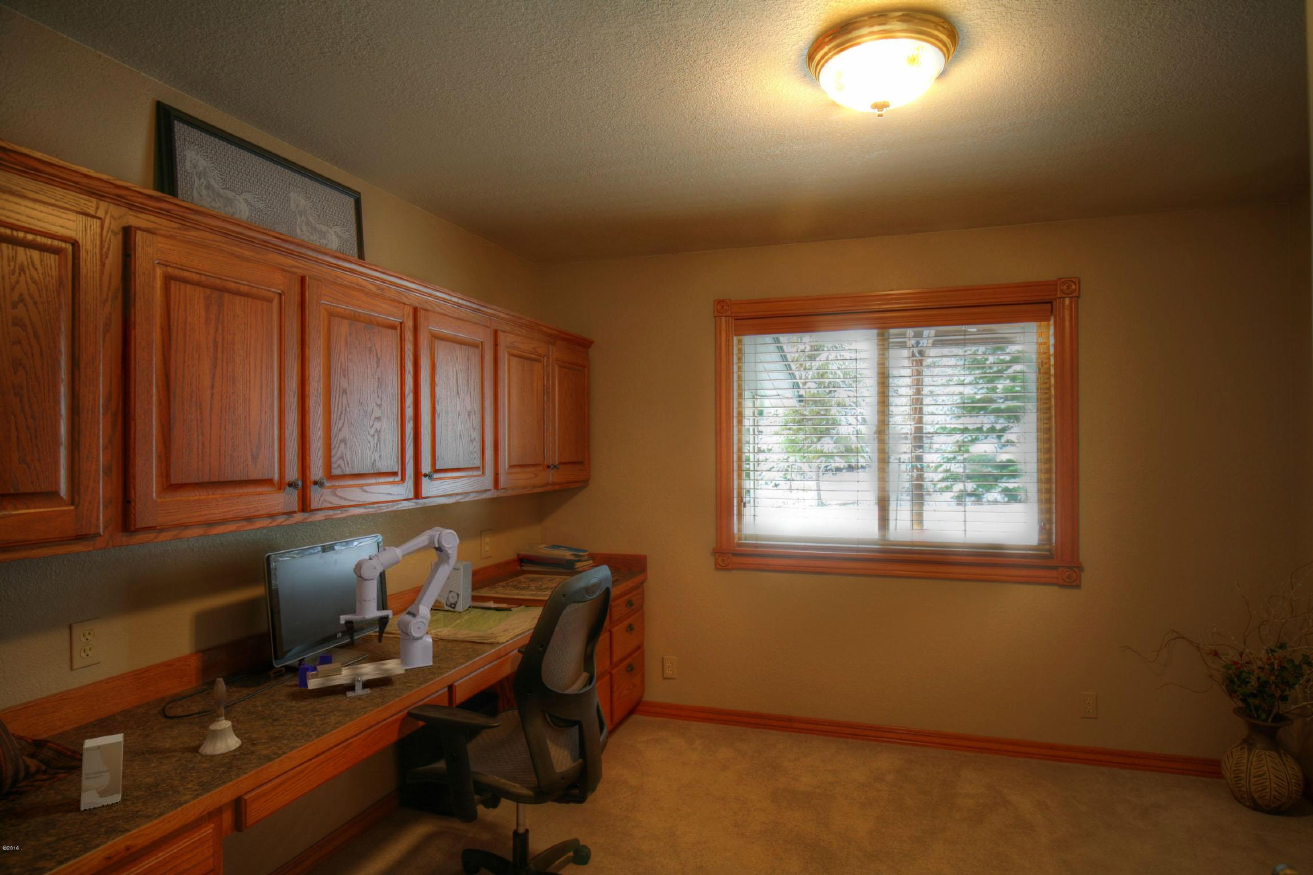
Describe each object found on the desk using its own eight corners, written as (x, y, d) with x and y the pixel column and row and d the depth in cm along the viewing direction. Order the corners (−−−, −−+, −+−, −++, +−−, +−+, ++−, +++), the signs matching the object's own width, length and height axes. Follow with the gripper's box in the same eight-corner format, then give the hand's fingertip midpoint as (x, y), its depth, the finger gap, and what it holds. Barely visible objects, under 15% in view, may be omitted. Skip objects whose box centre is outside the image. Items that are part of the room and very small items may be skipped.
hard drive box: (429, 610, 289) (430, 562, 289) (440, 605, 296) (441, 559, 296) (461, 613, 284) (461, 564, 284) (472, 608, 291) (472, 561, 291)
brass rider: (340, 672, 198) (340, 662, 198) (341, 677, 194) (341, 666, 194) (316, 676, 195) (316, 666, 195) (318, 681, 191) (318, 670, 191)
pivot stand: (365, 681, 204) (365, 664, 204) (370, 692, 195) (370, 675, 195) (342, 684, 201) (342, 667, 201) (347, 696, 192) (347, 678, 192)
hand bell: (199, 759, 154) (200, 687, 154) (197, 745, 161) (198, 677, 161) (242, 749, 159) (243, 679, 159) (239, 736, 166) (239, 670, 166)
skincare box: (79, 812, 132) (80, 747, 132) (81, 802, 136) (82, 739, 136) (122, 801, 136) (123, 739, 136) (123, 792, 140) (123, 731, 140)
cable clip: (317, 673, 211) (317, 654, 211) (331, 674, 211) (332, 654, 211) (293, 687, 199) (293, 666, 199) (308, 688, 199) (308, 667, 199)
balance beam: (400, 665, 207) (400, 656, 207) (404, 672, 201) (404, 663, 201) (306, 681, 195) (306, 671, 195) (308, 689, 188) (308, 678, 188)
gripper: (341, 604, 202) (341, 650, 202) (394, 598, 210) (393, 643, 210) (339, 599, 208) (338, 644, 208) (390, 594, 216) (389, 637, 216)
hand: (366, 643), depth 209 cm, fingers open, 7 cm apart
